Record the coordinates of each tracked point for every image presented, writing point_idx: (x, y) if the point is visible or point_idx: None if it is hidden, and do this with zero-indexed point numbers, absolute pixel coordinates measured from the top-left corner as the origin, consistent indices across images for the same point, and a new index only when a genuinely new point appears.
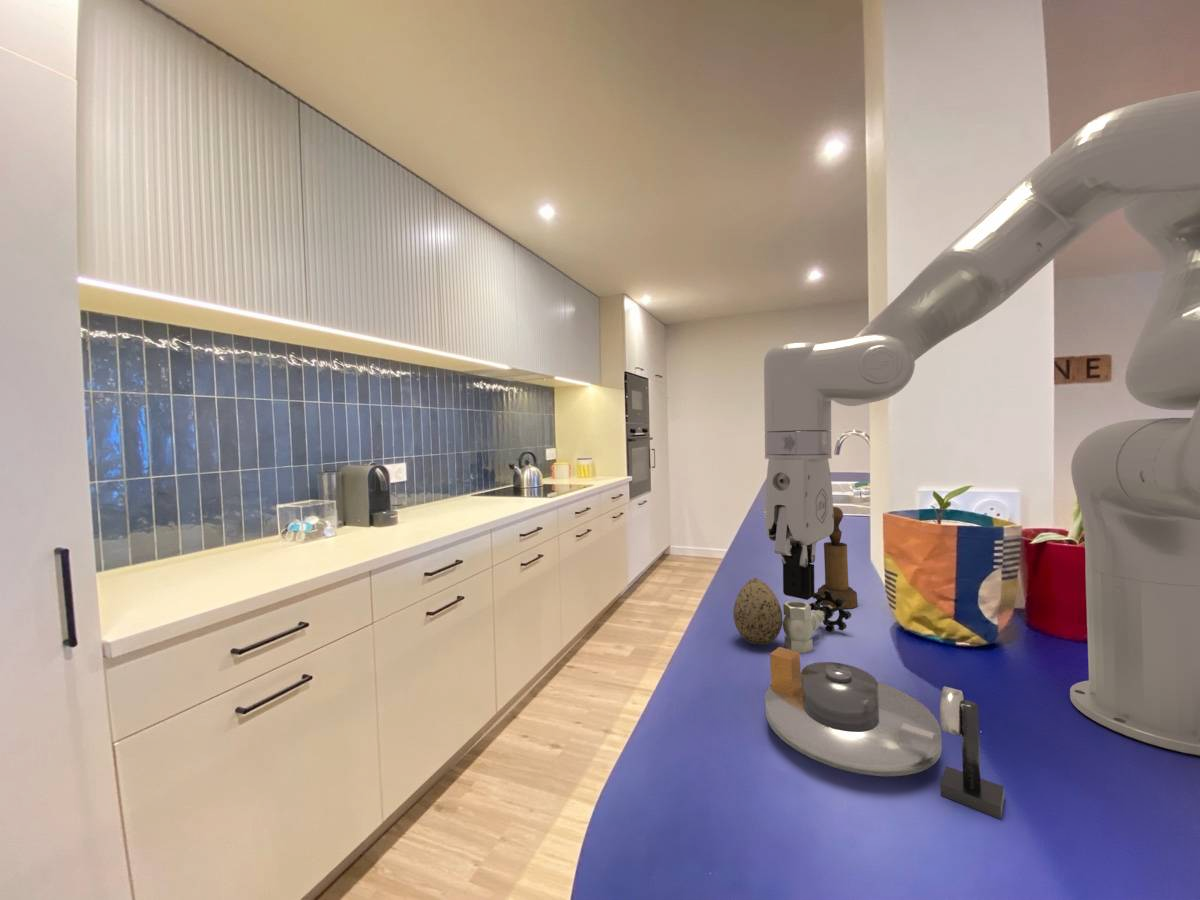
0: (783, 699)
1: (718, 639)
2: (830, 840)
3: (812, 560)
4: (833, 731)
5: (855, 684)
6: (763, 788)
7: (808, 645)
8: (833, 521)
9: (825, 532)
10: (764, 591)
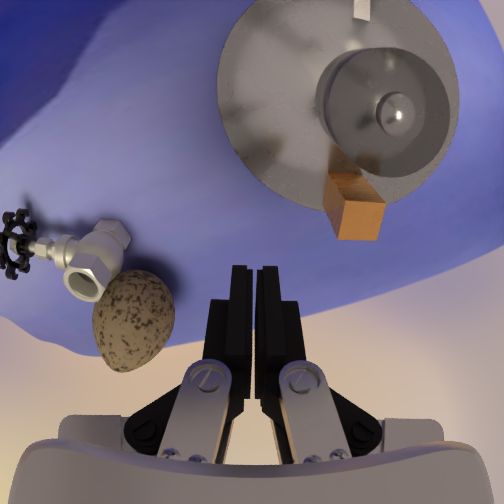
0: (377, 183)
1: (178, 320)
2: (492, 97)
3: (207, 372)
4: None
5: (408, 84)
6: (466, 158)
7: (108, 225)
8: (20, 489)
9: (183, 501)
10: (124, 342)
